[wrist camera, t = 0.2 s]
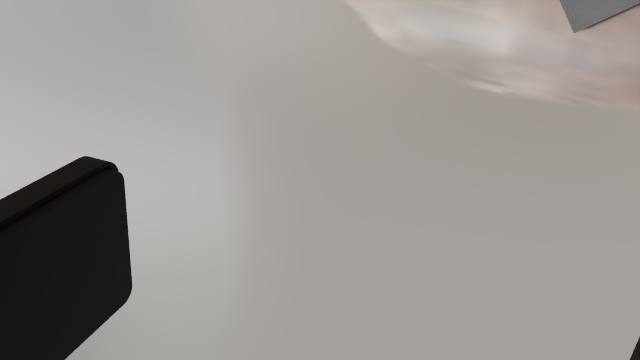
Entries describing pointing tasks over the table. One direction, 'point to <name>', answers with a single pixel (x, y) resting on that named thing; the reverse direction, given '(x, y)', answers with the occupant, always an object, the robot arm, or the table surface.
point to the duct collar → (593, 11)
